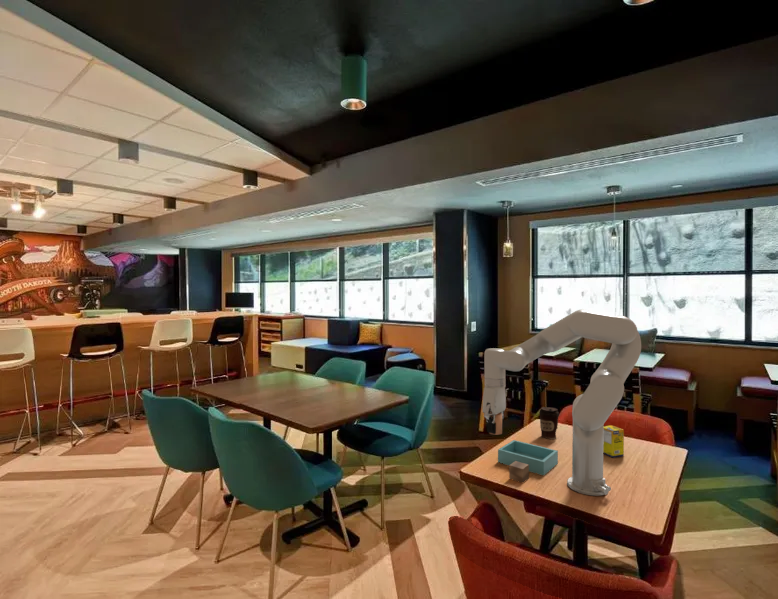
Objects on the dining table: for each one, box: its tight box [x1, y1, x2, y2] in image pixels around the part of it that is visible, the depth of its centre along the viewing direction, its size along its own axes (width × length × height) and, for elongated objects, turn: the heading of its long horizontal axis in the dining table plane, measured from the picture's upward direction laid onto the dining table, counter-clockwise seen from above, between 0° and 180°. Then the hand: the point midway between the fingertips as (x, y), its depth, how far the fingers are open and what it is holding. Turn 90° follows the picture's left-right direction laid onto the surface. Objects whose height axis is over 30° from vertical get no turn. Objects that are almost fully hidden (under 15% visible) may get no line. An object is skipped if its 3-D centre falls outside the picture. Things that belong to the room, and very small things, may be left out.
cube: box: [508, 461, 530, 483], centre depth 150 cm, size 5×5×5 cm
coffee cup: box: [538, 406, 560, 440], centre depth 192 cm, size 9×8×13 cm
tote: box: [497, 439, 559, 476], centre depth 164 cm, size 18×14×5 cm
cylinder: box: [489, 412, 503, 436], centre depth 156 cm, size 5×5×7 cm
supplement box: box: [603, 424, 625, 459], centre depth 172 cm, size 6×6×11 cm
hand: (495, 430), depth 156 cm, fingers closed on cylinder, 4 cm apart
